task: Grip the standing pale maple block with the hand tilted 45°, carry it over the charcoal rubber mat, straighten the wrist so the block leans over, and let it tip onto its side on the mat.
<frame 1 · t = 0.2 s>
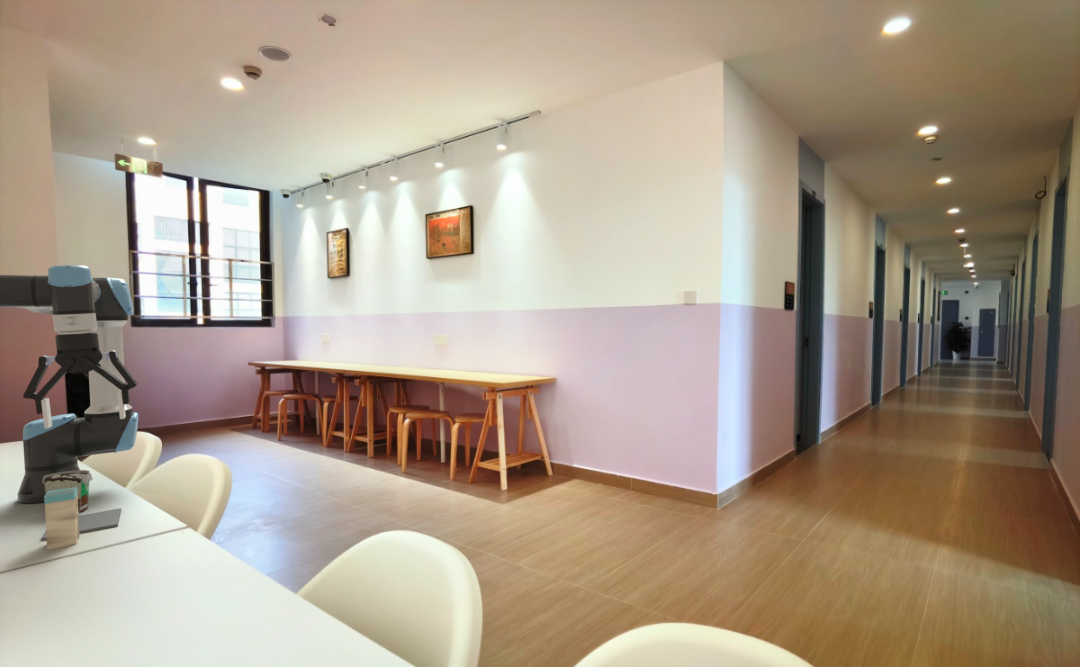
hand: (86, 422, 126), 27 cm above the table, tool pointing down, fingers open, 13 cm apart
maple block: (63, 543, 123), on the table
food container: (75, 509, 146), on the table
charcoal mat: (84, 524, 135), on the table
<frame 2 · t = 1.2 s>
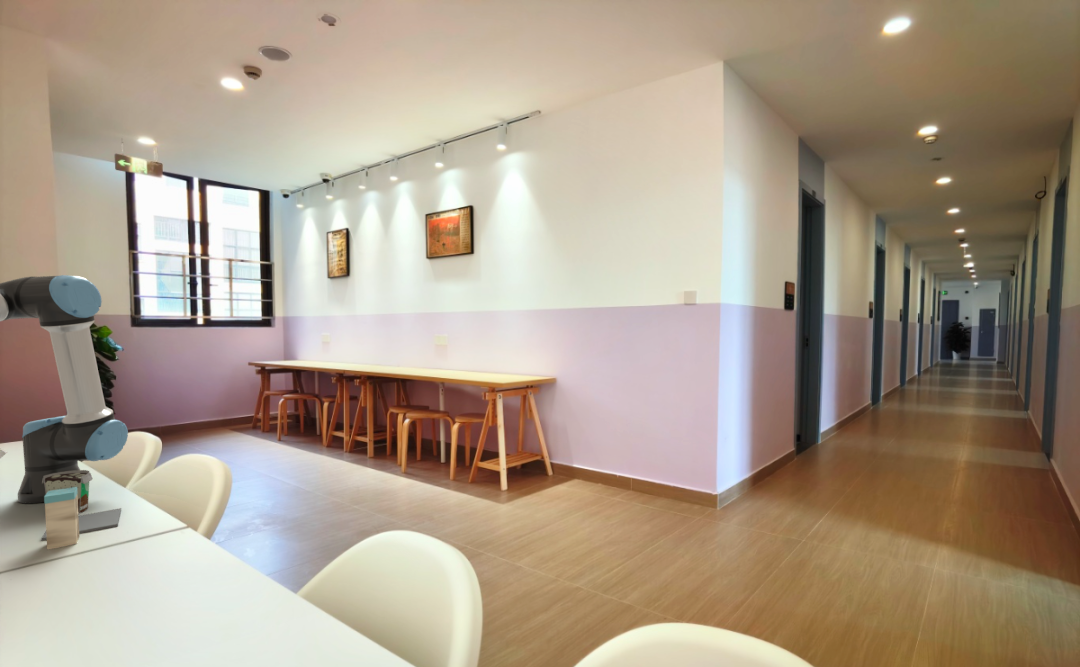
nothing on the table moved.
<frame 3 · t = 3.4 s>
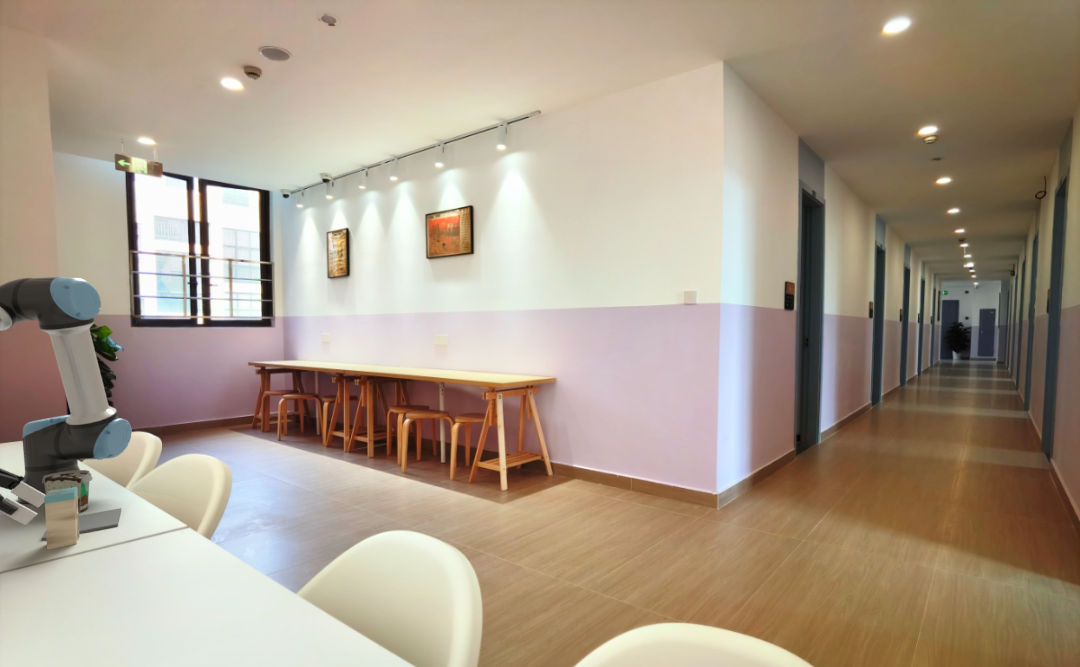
hand: (38, 510, 120), 9 cm above the table, tool tilted 45°, fingers open, 13 cm apart
nothing on the table moved.
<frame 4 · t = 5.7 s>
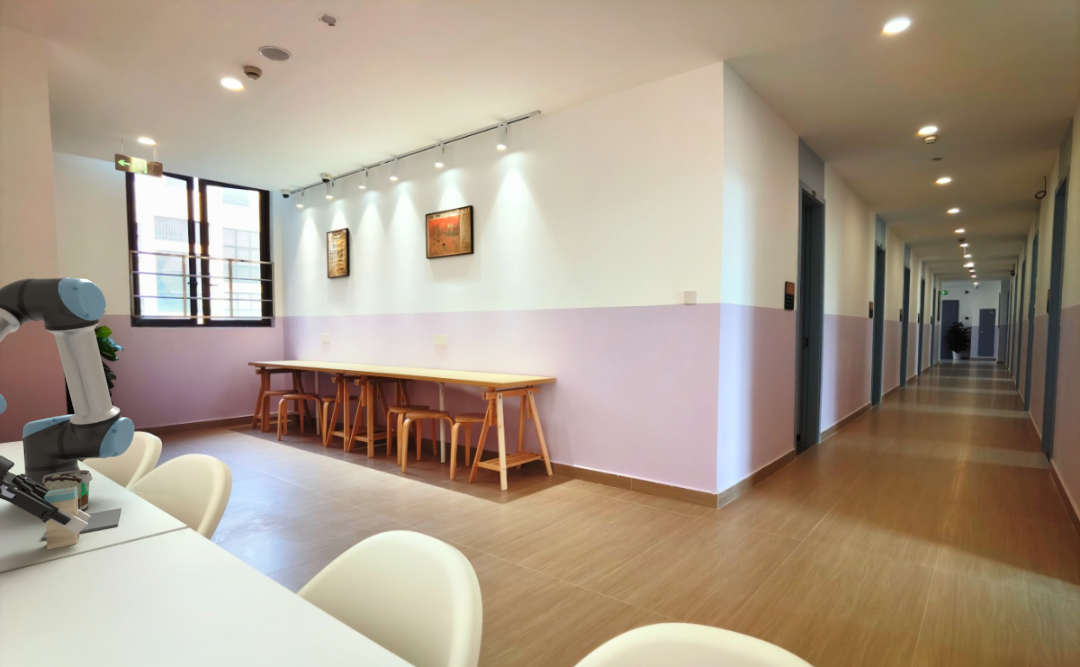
hand: (84, 524, 125), 3 cm above the table, tool tilted 45°, fingers closed on maple block, 5 cm apart
maple block: (63, 542, 123), on the table, touching gripper
everything else where it was.
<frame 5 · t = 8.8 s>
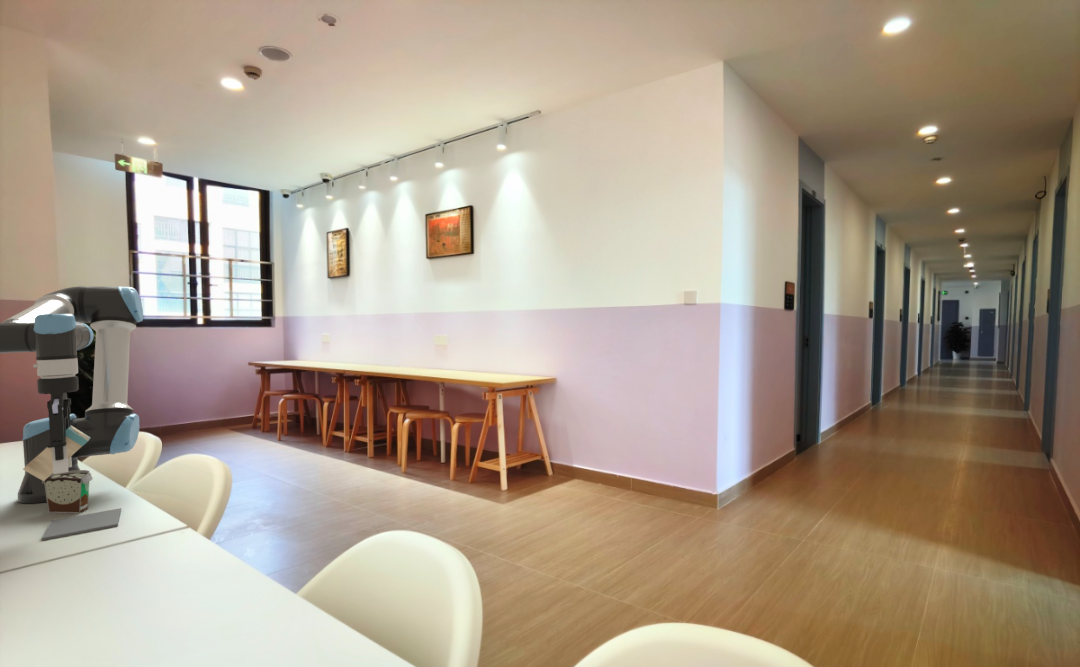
hand: (62, 470, 132), 15 cm above the table, tool pointing down, fingers closed on maple block, 5 cm apart
maple block: (35, 472, 129), point 15 cm above the table, tilted 45°, touching gripper
everything else where it was.
when the fingers open (4 cm above the table, at t = 11.0 s): maple block moves 2 cm and tips over, resting on charcoal mat.
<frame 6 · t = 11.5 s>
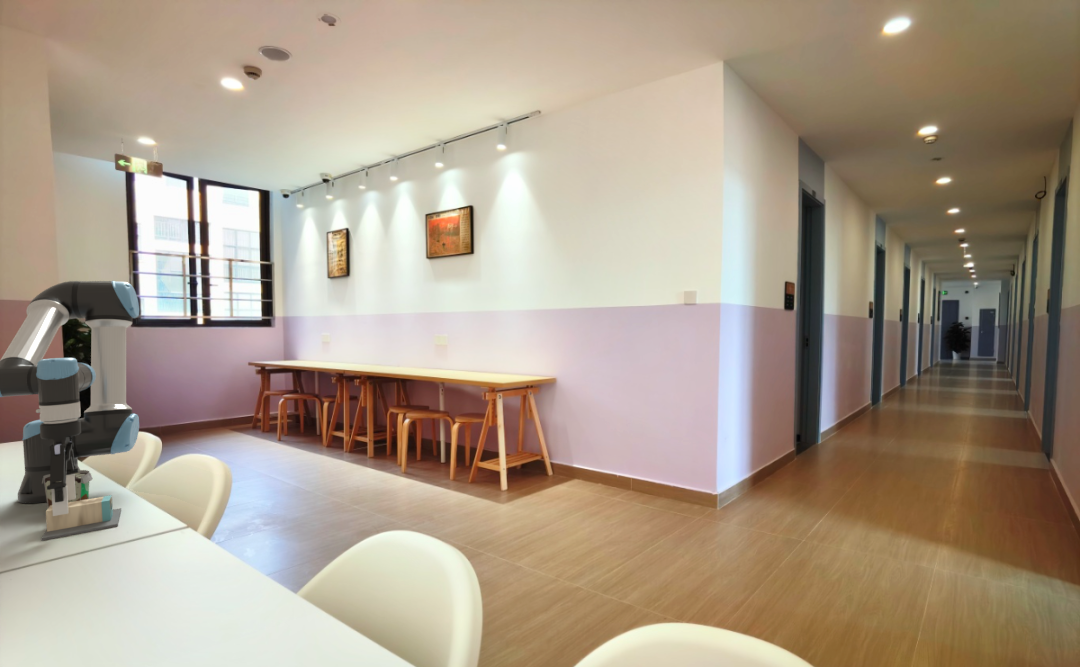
hand: (64, 507, 132), 5 cm above the table, tool pointing down, fingers open, 12 cm apart
maple block: (48, 518, 131), point 3 cm above the table, tilted 90°, touching charcoal mat
everything else where it was.
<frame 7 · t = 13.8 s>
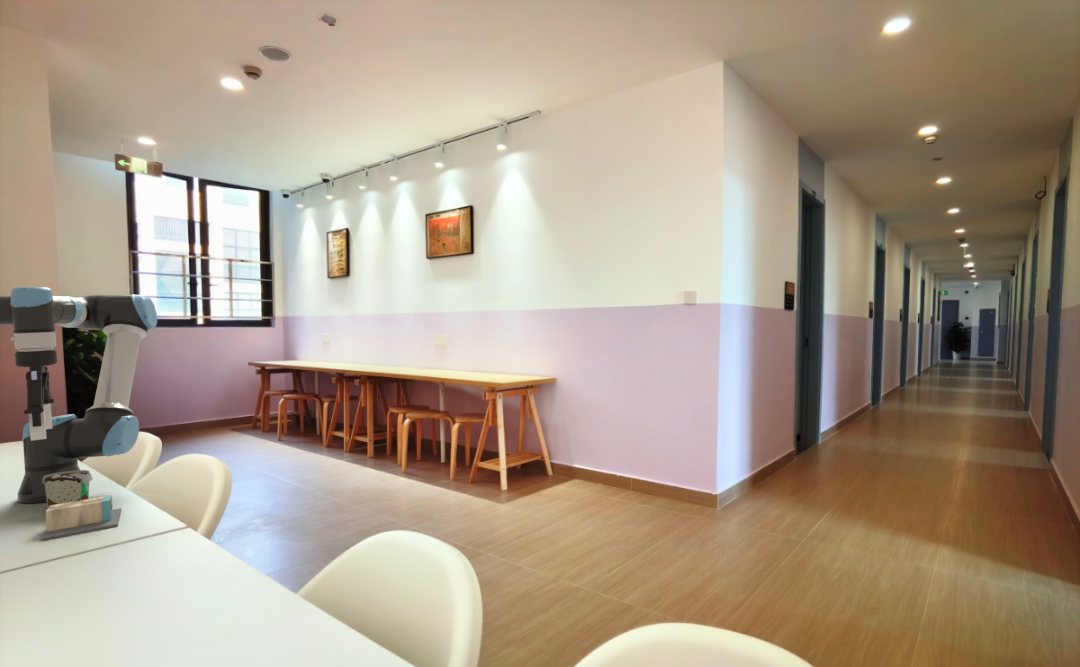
hand: (42, 434, 133), 23 cm above the table, tool pointing down, fingers open, 13 cm apart
nothing on the table moved.
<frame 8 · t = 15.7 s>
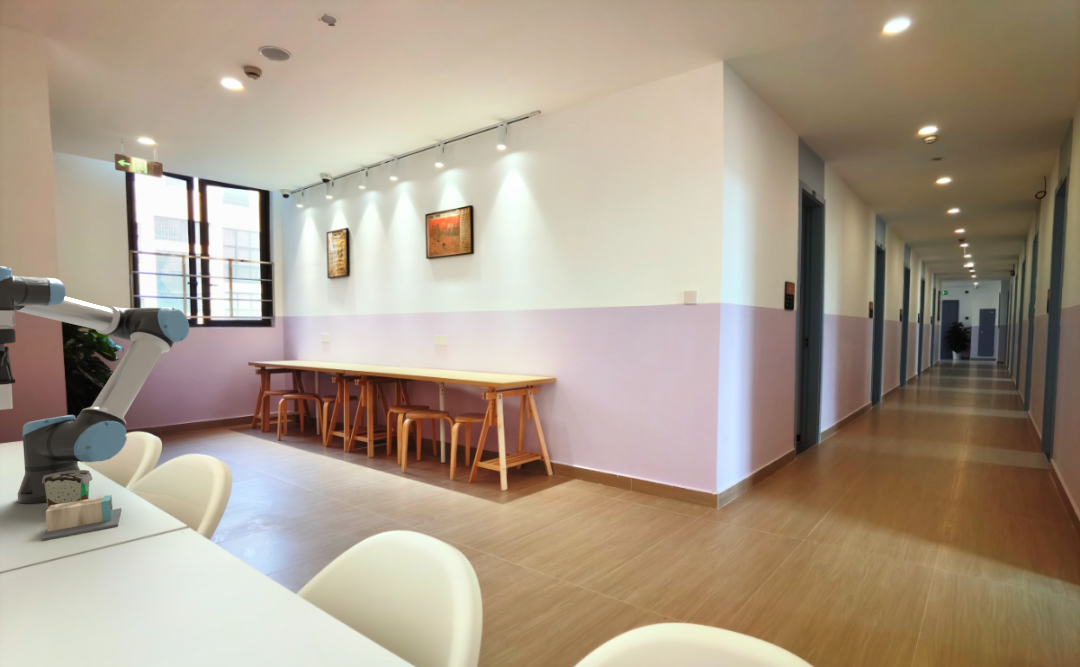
nothing on the table moved.
at the end: maple block tilted 90°; maple block inside the target area on the charcoal mat (6.6 cm from its centre), point 3.1 cm above the charcoal mat's base; the gripper is holding nothing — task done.
